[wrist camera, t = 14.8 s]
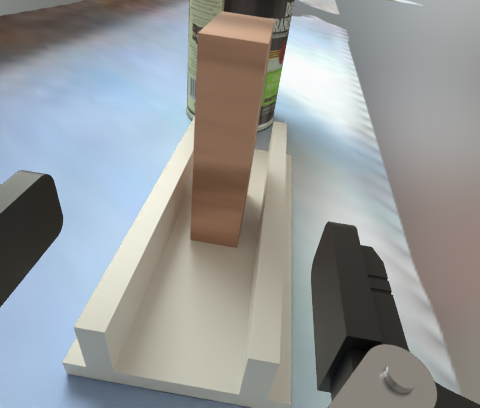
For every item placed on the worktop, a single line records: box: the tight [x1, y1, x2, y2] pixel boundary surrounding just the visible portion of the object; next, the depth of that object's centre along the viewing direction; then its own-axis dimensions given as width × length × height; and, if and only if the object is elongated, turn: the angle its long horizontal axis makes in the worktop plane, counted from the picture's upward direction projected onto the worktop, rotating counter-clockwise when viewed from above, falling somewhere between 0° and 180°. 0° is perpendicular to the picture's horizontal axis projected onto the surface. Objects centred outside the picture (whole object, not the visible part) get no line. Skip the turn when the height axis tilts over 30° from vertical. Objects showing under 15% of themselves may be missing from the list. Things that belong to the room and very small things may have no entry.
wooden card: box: [190, 11, 275, 248], centre depth 20 cm, size 6×3×12 cm, turn 173°
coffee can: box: [186, 0, 294, 131], centre depth 36 cm, size 10×10×14 cm
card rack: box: [62, 117, 292, 408], centre depth 23 cm, size 22×10×4 cm, turn 173°
